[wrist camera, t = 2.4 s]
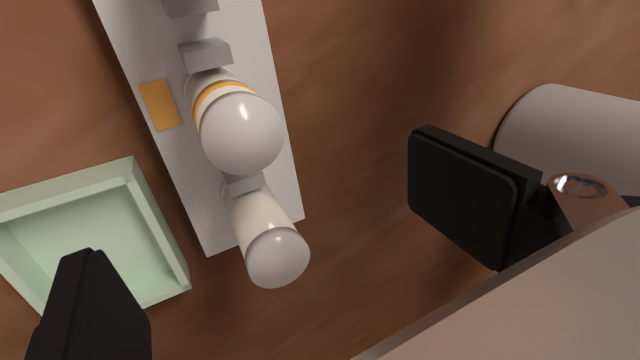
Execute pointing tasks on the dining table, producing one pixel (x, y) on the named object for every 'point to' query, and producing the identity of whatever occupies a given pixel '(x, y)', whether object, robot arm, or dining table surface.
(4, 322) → the dining table surface
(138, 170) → the tray
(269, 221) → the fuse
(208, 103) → the fuse marked
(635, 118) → the cylinder vase
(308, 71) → the dining table surface
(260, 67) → the holder
